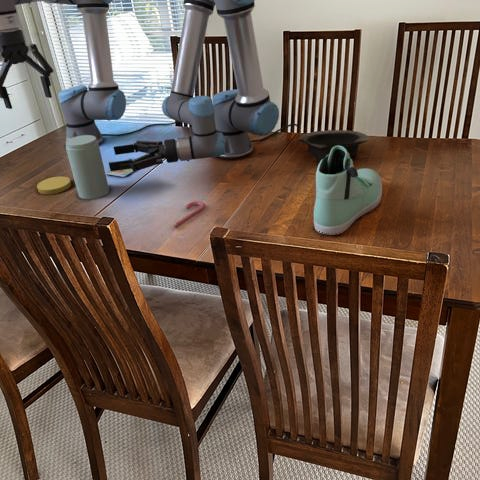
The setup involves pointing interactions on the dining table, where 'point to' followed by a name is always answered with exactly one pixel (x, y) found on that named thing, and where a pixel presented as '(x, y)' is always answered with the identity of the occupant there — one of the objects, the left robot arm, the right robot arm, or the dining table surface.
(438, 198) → the dining table surface
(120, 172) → the baking ingredient package
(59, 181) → the lid
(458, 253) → the dining table surface
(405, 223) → the dining table surface
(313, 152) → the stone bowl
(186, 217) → the candy cane
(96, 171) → the jar
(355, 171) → the sneaker
